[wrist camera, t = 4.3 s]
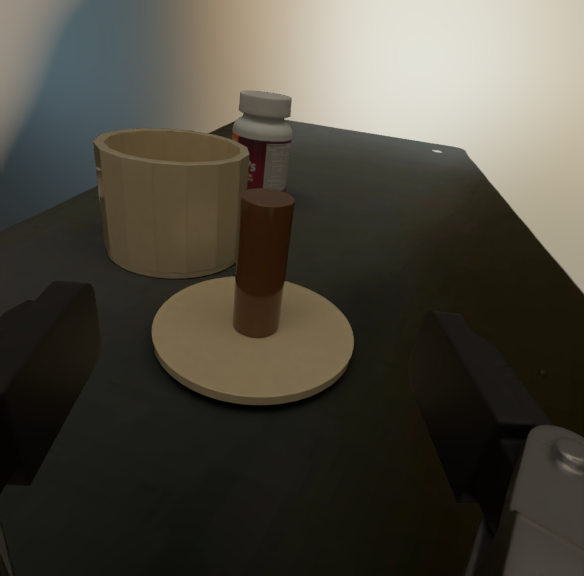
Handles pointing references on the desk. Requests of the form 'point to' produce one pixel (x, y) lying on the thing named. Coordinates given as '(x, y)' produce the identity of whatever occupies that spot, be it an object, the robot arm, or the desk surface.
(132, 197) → the canister
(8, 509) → the desk surface
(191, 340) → the lid
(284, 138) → the pill bottle
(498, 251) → the desk surface
